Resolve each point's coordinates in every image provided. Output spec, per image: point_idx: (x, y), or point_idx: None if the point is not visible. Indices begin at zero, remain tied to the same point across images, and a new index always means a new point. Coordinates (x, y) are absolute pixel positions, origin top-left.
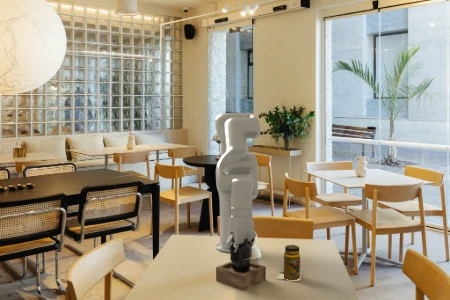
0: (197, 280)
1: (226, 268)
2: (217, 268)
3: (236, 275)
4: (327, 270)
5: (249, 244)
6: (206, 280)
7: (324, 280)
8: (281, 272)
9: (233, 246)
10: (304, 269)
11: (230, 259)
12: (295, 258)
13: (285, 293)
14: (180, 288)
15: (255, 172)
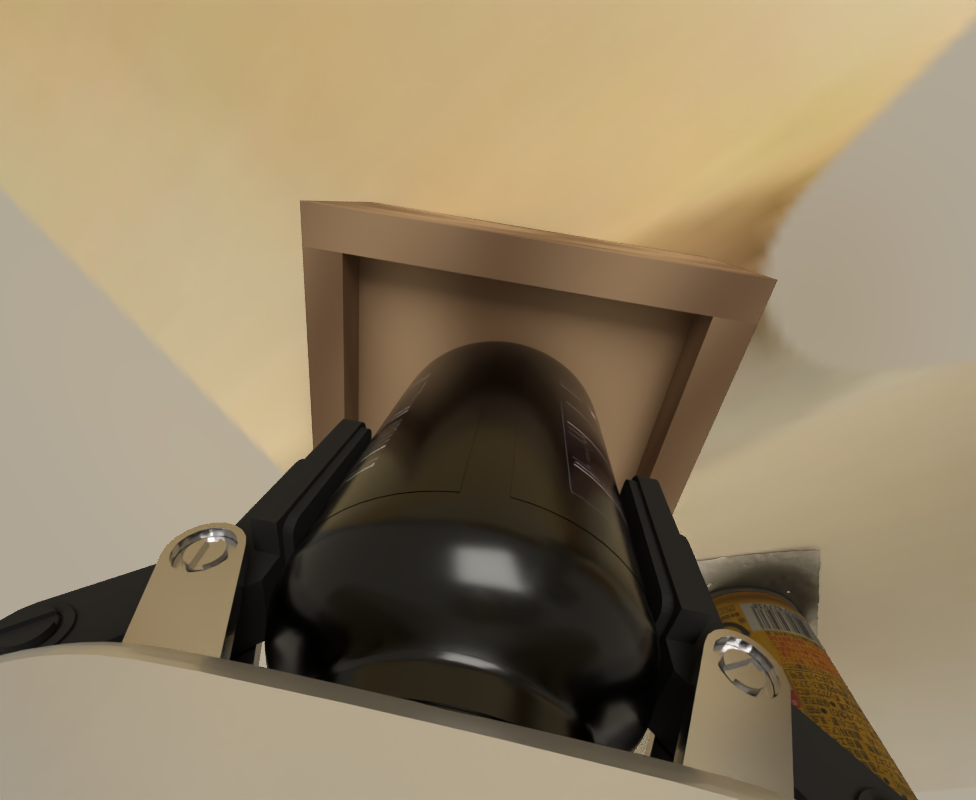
0: (246, 18)
1: (442, 276)
2: (310, 227)
3: None
4: (965, 738)
5: (651, 753)
6: (313, 111)
7: None
8: (810, 560)
9: (277, 602)
10: (950, 647)
11: (339, 422)
12: None
13: None
14: (7, 20)
15: None
